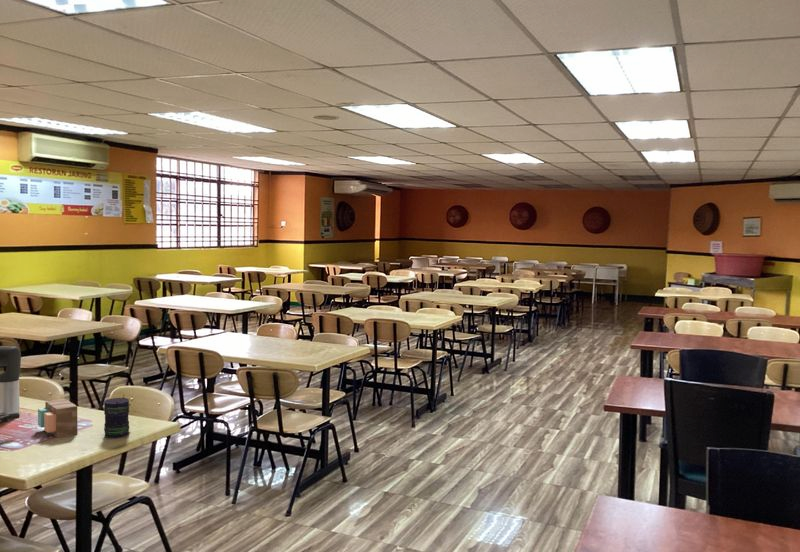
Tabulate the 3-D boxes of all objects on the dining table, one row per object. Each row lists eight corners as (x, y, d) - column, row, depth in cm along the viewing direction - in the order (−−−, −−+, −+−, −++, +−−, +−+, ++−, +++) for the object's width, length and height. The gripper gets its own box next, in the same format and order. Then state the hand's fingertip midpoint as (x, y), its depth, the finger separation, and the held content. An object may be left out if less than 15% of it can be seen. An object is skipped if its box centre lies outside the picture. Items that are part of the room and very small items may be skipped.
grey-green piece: (37, 425, 279) (37, 408, 279) (53, 422, 283) (53, 406, 283) (41, 427, 276) (40, 410, 275) (56, 425, 280) (56, 408, 280)
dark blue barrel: (104, 433, 278) (104, 398, 277) (129, 430, 282) (128, 397, 281) (104, 439, 268) (103, 404, 268) (129, 437, 272) (129, 402, 272)
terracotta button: (44, 430, 272) (43, 412, 272) (59, 427, 277) (59, 410, 276) (47, 432, 269) (47, 415, 268) (63, 429, 273) (63, 412, 273)
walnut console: (45, 428, 283) (45, 401, 282) (65, 425, 288) (65, 398, 288) (57, 437, 270) (56, 409, 270) (77, 433, 276) (77, 406, 275)
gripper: (-27, 416, 255) (22, 409, 267) (-33, 409, 264) (15, 403, 276) (-27, 434, 255) (23, 427, 267) (-33, 427, 265) (15, 420, 277)
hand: (18, 415), depth 272 cm, fingers closed
